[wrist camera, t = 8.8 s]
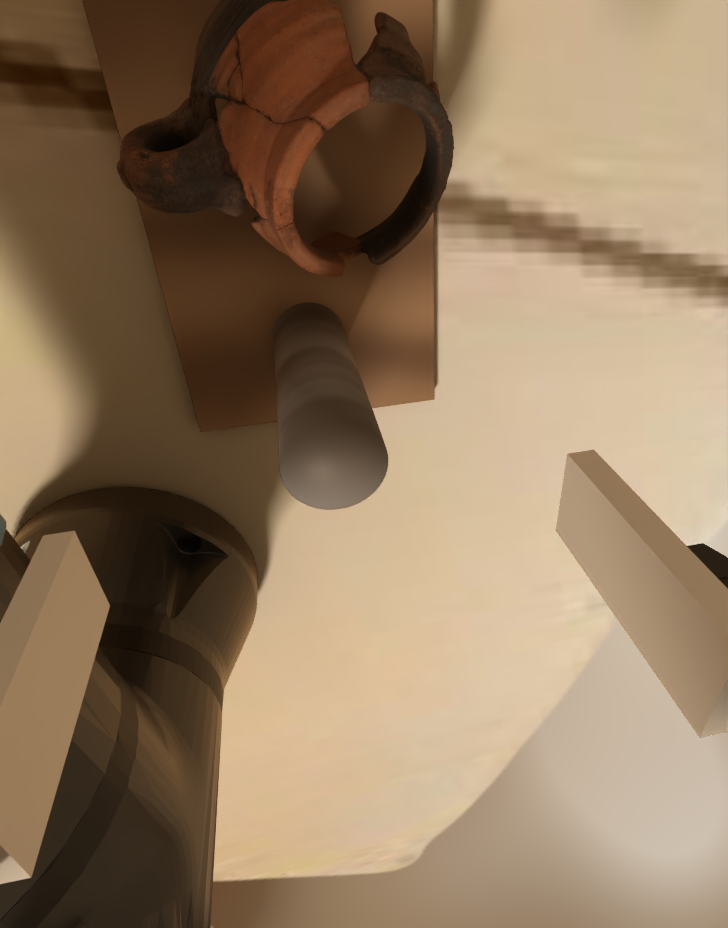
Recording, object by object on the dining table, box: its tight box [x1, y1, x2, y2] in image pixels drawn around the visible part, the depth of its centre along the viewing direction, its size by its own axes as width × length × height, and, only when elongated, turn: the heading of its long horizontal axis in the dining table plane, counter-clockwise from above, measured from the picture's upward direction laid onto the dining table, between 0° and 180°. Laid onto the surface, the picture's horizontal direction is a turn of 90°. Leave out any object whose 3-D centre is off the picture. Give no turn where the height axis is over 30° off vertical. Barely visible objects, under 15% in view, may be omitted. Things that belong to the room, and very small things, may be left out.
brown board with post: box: [83, 0, 434, 510], centre depth 21 cm, size 19×13×13 cm
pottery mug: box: [117, 0, 454, 277], centre depth 22 cm, size 12×10×8 cm
